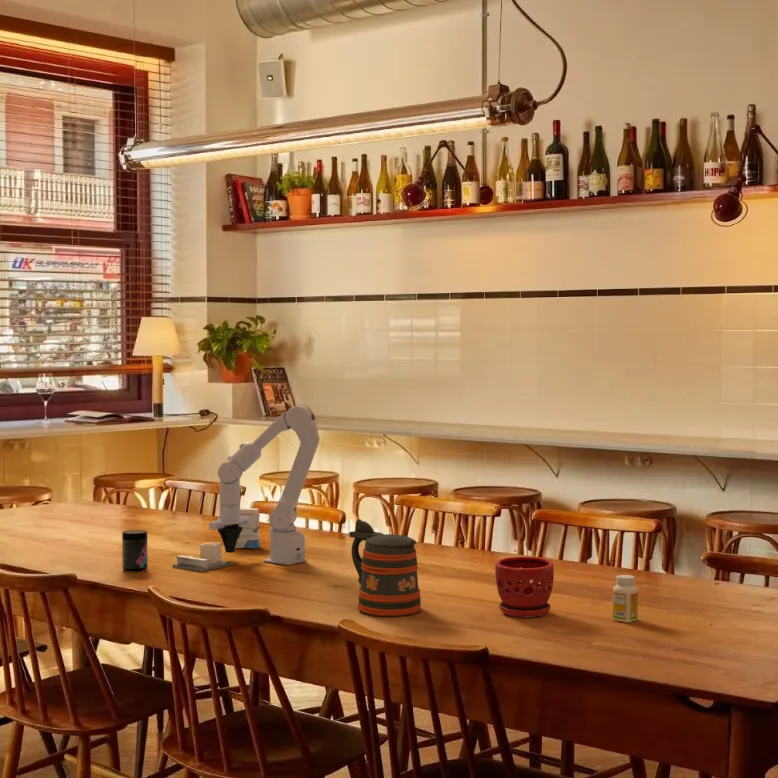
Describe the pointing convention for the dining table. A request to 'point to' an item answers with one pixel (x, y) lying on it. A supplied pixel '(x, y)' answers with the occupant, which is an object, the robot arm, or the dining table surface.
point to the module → (211, 551)
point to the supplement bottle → (625, 598)
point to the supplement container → (134, 550)
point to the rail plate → (199, 563)
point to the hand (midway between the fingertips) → (229, 552)
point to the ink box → (249, 529)
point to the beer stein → (386, 572)
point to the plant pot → (524, 585)
